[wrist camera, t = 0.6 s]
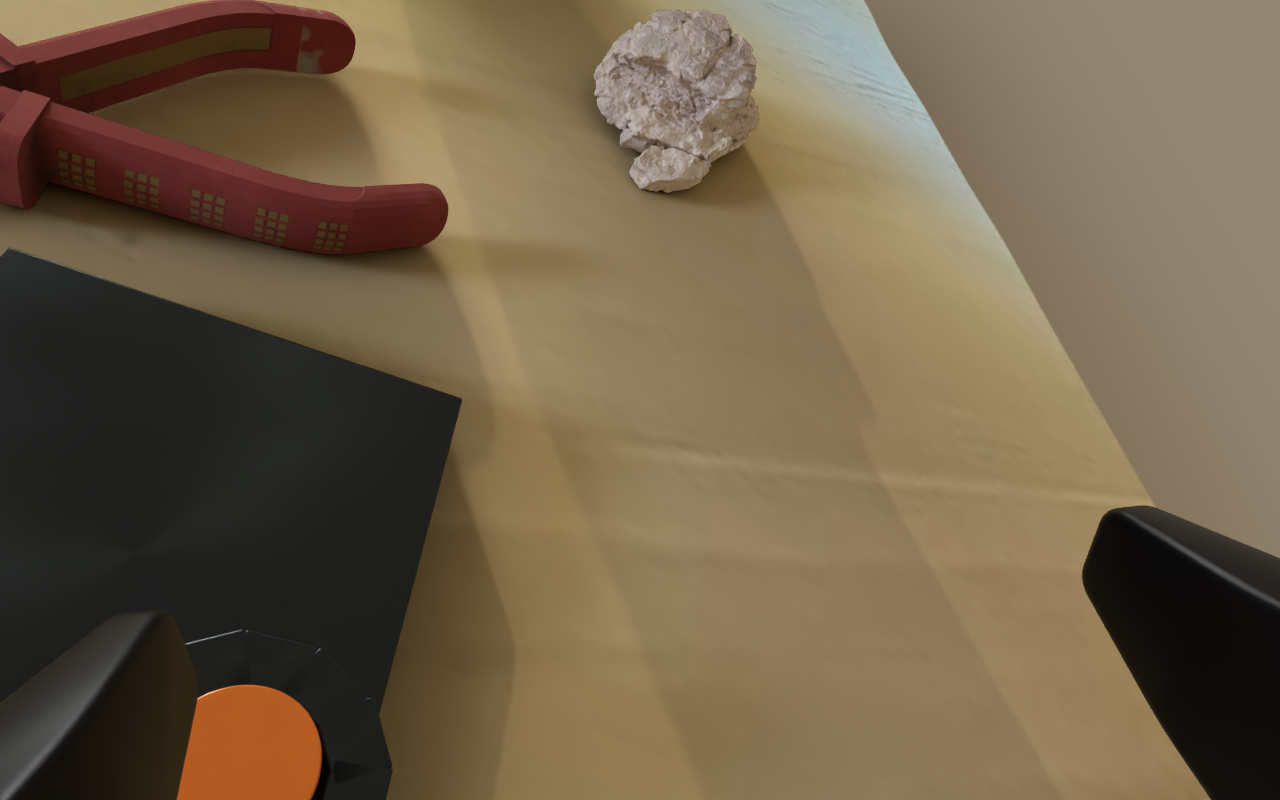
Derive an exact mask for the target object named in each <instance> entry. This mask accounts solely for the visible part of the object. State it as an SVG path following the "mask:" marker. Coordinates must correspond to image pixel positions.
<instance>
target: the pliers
mask: <svg viewBox="0 0 1280 800" xmlns="http://www.w3.org/2000/svg"><path fill="white" fill-rule="evenodd" d="M354 50H355V36H354V33H353V31H352V30H351V28H350V27H349V25H348V24H347V23H346V22H345V21H344V20H343V19H341V18H340V17H339V16H337V15H335V14H333V13H331V12H328V11H323V10H316V9H309V8H302V7H296V6H289V5H282V4H275V3H268V2H262V1H255V0H214V1H206V2H198V3H192V4H187V5H181V6H177V7H173V8H169V9H165V10H162V11H158V12H154V13H150V14H146V15H142V16H138V17H134V18H130V19H126V20H122V21H118V22H114V23H110V24H106V25H102V26H98V27H94V28H90V29H86V30H82V31H78V32H74V33H70V34H66V35H62V36H58V37H54V38H50V39H46V40H42V41H38V42H34V43H30V44H26V45H22V46H16V45H15V44H14V43H12V42H11V41H10V40H8V39H7V38H6V37H4V36H3V35H2V34H0V202H1V203H5V204H8V205H12V206H16V207H19V208H23V209H30V208H31V207H32V206H33V205H34V204H35V202H36V200H37V199H38V197H39V196H40V194H41V193H42V191H43V189H44V188H45V186H46V185H47V183H48V182H53V183H56V184H60V185H63V186H67V187H70V188H74V189H77V190H81V191H84V192H88V193H91V194H95V195H98V196H102V197H105V198H109V199H112V200H116V201H119V202H123V203H126V204H130V205H133V206H137V207H140V208H144V209H147V210H151V211H154V212H158V213H161V214H165V215H168V216H172V217H175V218H179V219H182V220H186V221H189V222H193V223H196V224H200V225H203V226H207V227H210V228H214V229H217V230H221V231H224V232H228V233H231V234H235V235H238V236H242V237H245V238H249V239H253V240H256V241H260V242H263V243H268V244H272V245H276V246H281V247H286V248H291V249H297V250H302V251H309V252H315V253H323V254H342V255H345V254H353V253H362V252H371V251H379V250H388V249H397V248H405V247H414V246H421V245H424V244H427V243H429V242H431V241H432V240H434V239H435V238H436V237H437V236H438V235H439V234H440V233H441V231H442V230H443V228H444V226H445V224H446V221H447V217H448V204H447V201H446V199H445V196H444V195H443V193H442V192H441V190H440V189H439V188H437V187H435V186H433V185H430V184H423V183H421V184H400V185H381V186H364V187H343V186H333V185H326V184H320V183H314V182H309V181H305V180H300V179H296V178H292V177H288V176H284V175H280V174H277V173H273V172H270V171H267V170H264V169H261V168H258V167H254V166H251V165H248V164H245V163H242V162H239V161H236V160H232V159H229V158H226V157H223V156H220V155H217V154H214V153H210V152H207V151H204V150H201V149H198V148H195V147H192V146H188V145H185V144H182V143H179V142H176V141H173V140H170V139H167V138H163V137H160V136H157V135H154V134H151V133H148V132H145V131H141V130H138V129H135V128H132V127H129V126H126V125H123V124H119V123H116V122H113V121H110V120H107V119H104V118H101V117H97V116H94V115H91V114H88V113H89V112H92V111H95V110H98V109H101V108H104V107H107V106H110V105H113V104H116V103H119V102H122V101H125V100H128V99H131V98H134V97H137V96H140V95H143V94H146V93H149V92H152V91H155V90H158V89H161V88H164V87H167V86H170V85H173V84H176V83H179V82H182V81H185V80H188V79H191V78H194V77H197V76H201V75H205V74H208V73H212V72H218V71H223V70H230V69H238V68H263V69H272V70H282V71H293V72H304V73H314V74H330V73H334V72H337V71H340V70H342V69H343V68H345V67H346V66H347V65H348V64H349V63H350V61H351V59H352V57H353V54H354Z"/></svg>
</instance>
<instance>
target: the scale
mask: <svg viewBox="0 0 1280 800" xmlns="http://www.w3.org/2000/svg"><path fill="white" fill-rule="evenodd" d="M461 402H462V399H461V398H459V397H456V396H453V395H450V394H447V393H444V392H441V391H438V390H435V389H432V388H429V387H426V386H423V385H420V384H417V383H414V382H411V381H408V380H405V379H402V378H399V377H396V376H393V375H390V374H387V373H384V372H381V371H378V370H375V369H372V368H369V367H366V366H363V365H360V364H357V363H354V362H351V361H348V360H345V359H342V358H339V357H336V356H333V355H330V354H327V353H324V352H321V351H318V350H315V349H312V348H309V347H306V346H303V345H300V344H297V343H294V342H291V341H288V340H285V339H282V338H279V337H276V336H273V335H270V334H267V333H264V332H261V331H258V330H255V329H252V328H249V327H246V326H243V325H240V324H237V323H234V322H231V321H228V320H225V319H222V318H219V317H217V316H214V315H211V314H208V313H205V312H202V311H199V310H196V309H193V308H190V307H187V306H184V305H181V304H178V303H175V302H172V301H169V300H166V299H163V298H160V297H157V296H154V295H151V294H148V293H145V292H142V291H139V290H136V289H133V288H130V287H127V286H124V285H121V284H118V283H115V282H112V281H109V280H106V279H103V278H100V277H97V276H94V275H91V274H88V273H85V272H82V271H79V270H76V269H73V268H70V267H67V266H64V265H61V264H58V263H55V262H52V261H49V260H46V259H43V258H40V257H37V256H34V255H31V254H28V253H25V252H22V251H19V250H16V249H13V248H8V249H7V250H6V251H5V253H4V254H3V255H2V256H1V257H0V703H1V702H2V701H4V700H5V699H6V698H7V697H9V696H10V695H11V694H13V693H14V692H15V691H16V690H18V689H19V688H20V687H21V686H23V685H24V684H25V683H27V682H28V681H29V680H30V679H32V678H33V677H34V676H35V675H37V674H38V673H39V672H41V671H42V670H43V669H44V668H46V667H47V666H48V665H50V664H51V663H52V662H53V661H55V660H56V659H57V658H58V657H60V656H61V655H62V654H64V653H65V652H66V651H67V650H69V649H70V648H71V647H72V646H74V645H75V644H76V643H78V642H79V641H80V640H81V639H83V638H84V637H85V636H86V635H88V634H89V633H90V632H92V631H93V630H94V629H95V628H97V627H98V626H99V625H101V624H102V623H103V622H104V621H106V620H107V619H109V618H110V617H112V616H114V615H116V614H120V613H125V612H135V611H144V610H154V609H162V610H166V611H168V612H170V613H171V614H172V615H173V617H174V618H175V620H176V622H177V625H178V627H179V630H180V632H181V635H182V637H183V640H184V643H185V645H186V648H187V650H188V653H189V655H190V658H191V661H192V663H193V666H194V668H195V671H196V675H197V680H198V697H201V696H203V695H205V694H207V693H209V692H212V691H215V690H218V689H221V688H225V687H230V686H237V685H258V686H265V687H269V688H273V689H276V690H278V691H281V692H283V693H285V694H287V695H288V696H290V697H292V698H293V699H294V700H296V701H297V702H298V703H299V704H301V706H302V707H303V708H304V709H305V710H306V711H307V712H308V714H309V715H310V717H311V718H312V720H313V722H314V724H315V726H316V728H317V730H318V734H319V737H320V741H321V747H322V765H321V773H320V777H319V781H318V784H317V787H316V790H315V793H314V795H313V797H312V799H311V800H386V797H387V793H388V788H389V784H390V780H391V776H392V772H393V771H392V769H391V768H392V763H391V759H390V755H389V752H388V748H387V744H386V740H385V737H384V733H383V729H382V726H381V722H380V718H379V712H380V708H381V704H382V701H383V697H384V693H385V689H386V686H387V682H388V678H389V674H390V671H391V667H392V663H393V659H394V655H395V652H396V648H397V644H398V640H399V637H400V633H401V629H402V625H403V621H404V618H405V614H406V610H407V606H408V603H409V599H410V595H411V591H412V587H413V584H414V580H415V576H416V572H417V569H418V565H419V561H420V557H421V553H422V550H423V546H424V542H425V538H426V535H427V531H428V527H429V523H430V519H431V516H432V512H433V508H434V504H435V501H436V497H437V493H438V489H439V486H440V482H441V478H442V474H443V470H444V467H445V463H446V459H447V455H448V452H449V448H450V444H451V440H452V436H453V433H454V429H455V425H456V421H457V418H458V414H459V410H460V406H461Z"/></svg>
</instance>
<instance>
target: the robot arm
mask: <svg viewBox="0 0 1280 800" xmlns="http://www.w3.org/2000/svg"><path fill="white" fill-rule="evenodd" d="M1082 579H1083V585H1084V588H1085V591H1086V593H1087V595H1088V597H1089V599H1090V601H1091V603H1092V604H1093V606H1094V608H1095V610H1096V612H1097V613H1098V615H1099V617H1100V619H1101V620H1102V622H1103V624H1104V626H1105V628H1106V629H1107V631H1108V633H1109V635H1110V636H1111V638H1112V640H1113V642H1114V644H1115V645H1116V647H1117V649H1118V651H1119V652H1120V654H1121V656H1122V658H1123V660H1124V661H1125V663H1126V665H1127V667H1128V669H1129V670H1130V672H1131V674H1132V676H1133V677H1134V679H1135V681H1136V683H1137V685H1138V686H1139V688H1140V690H1141V692H1142V693H1143V695H1144V697H1145V699H1146V701H1147V702H1148V704H1149V706H1150V708H1151V709H1152V711H1153V713H1154V714H1155V716H1156V718H1157V719H1158V721H1159V723H1160V724H1161V726H1162V728H1163V729H1164V731H1165V732H1166V734H1167V735H1168V737H1169V738H1170V740H1171V741H1172V743H1173V744H1174V746H1175V748H1176V749H1177V751H1178V752H1179V753H1180V755H1181V756H1182V758H1183V759H1184V761H1185V762H1186V764H1187V765H1188V767H1189V768H1190V770H1191V771H1192V772H1193V774H1194V775H1195V777H1196V778H1197V780H1198V781H1199V783H1200V784H1201V786H1202V787H1203V788H1204V790H1205V791H1206V793H1207V794H1208V796H1209V797H1210V799H1211V800H1280V558H1278V557H1275V556H1272V555H1270V554H1268V553H1265V552H1263V551H1260V550H1258V549H1256V548H1253V547H1251V546H1248V545H1246V544H1243V543H1241V542H1239V541H1236V540H1233V539H1231V538H1229V537H1226V536H1224V535H1221V534H1219V533H1217V532H1214V531H1211V530H1209V529H1207V528H1204V527H1202V526H1199V525H1197V524H1194V523H1192V522H1190V521H1187V520H1185V519H1182V518H1180V517H1177V516H1175V515H1172V514H1170V513H1168V512H1165V511H1163V510H1160V509H1158V508H1155V507H1151V506H1133V507H1123V508H1115V509H1112V510H1110V511H1108V512H1107V513H1106V514H1105V515H1104V516H1103V517H1102V519H1101V521H1100V523H1099V526H1098V528H1097V531H1096V534H1095V536H1094V539H1093V542H1092V545H1091V547H1090V550H1089V553H1088V555H1087V558H1086V561H1085V563H1084V566H1083V570H1082ZM197 699H198V680H197V675H196V671H195V668H194V666H193V663H192V661H191V658H190V655H189V653H188V650H187V648H186V645H185V643H184V640H183V637H182V635H181V632H180V630H179V627H178V625H177V622H176V620H175V618H174V617H173V615H172V614H171V613H170V612H168V611H166V610H162V609H154V610H144V611H135V612H125V613H120V614H116V615H114V616H112V617H110V618H109V619H107V620H106V621H104V622H103V623H102V624H101V625H99V626H98V627H97V628H95V629H94V630H93V631H92V632H90V633H89V634H88V635H86V636H85V637H84V638H83V639H81V640H80V641H79V642H78V643H76V644H75V645H74V646H72V647H71V648H70V649H69V650H67V651H66V652H65V653H64V654H62V655H61V656H60V657H58V658H57V659H56V660H55V661H53V662H52V663H51V664H50V665H48V666H47V667H46V668H44V669H43V670H42V671H41V672H39V673H38V674H37V675H35V676H34V677H33V678H32V679H30V680H29V681H28V682H27V683H25V684H24V685H23V686H21V687H20V688H19V689H18V690H16V691H15V692H14V693H13V694H11V695H10V696H9V697H7V698H6V699H5V700H4V701H2V702H1V703H0V800H177V796H178V791H179V787H180V782H181V777H182V772H183V767H184V763H185V758H186V753H187V748H188V743H189V738H190V734H191V729H192V724H193V719H194V714H195V710H196V705H197Z"/></svg>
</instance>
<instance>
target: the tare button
mask: <svg viewBox="0 0 1280 800" xmlns="http://www.w3.org/2000/svg"><path fill="white" fill-rule="evenodd" d="M321 765H322V747H321V741H320V737H319V734H318V730H317V728H316V726H315V724H314V722H313V720H312V718H311V717H310V715H309V714H308V712H307V711H306V710H305V709H304V708H303V707H302V706H301V704H299V703H298V702H297V701H296V700H294V699H293V698H292V697H290V696H288V695H287V694H285V693H283V692H281V691H278V690H276V689H273V688H269V687H265V686H258V685H237V686H230V687H225V688H221V689H218V690H215V691H212V692H209V693H207V694H205V695H203V696H201V697H198V699H197V705H196V710H195V714H194V719H193V724H192V729H191V734H190V738H189V743H188V748H187V753H186V758H185V763H184V767H183V772H182V777H181V782H180V787H179V791H178V796H177V800H311V799H312V797H313V795H314V793H315V790H316V787H317V784H318V781H319V777H320V773H321Z"/></svg>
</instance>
